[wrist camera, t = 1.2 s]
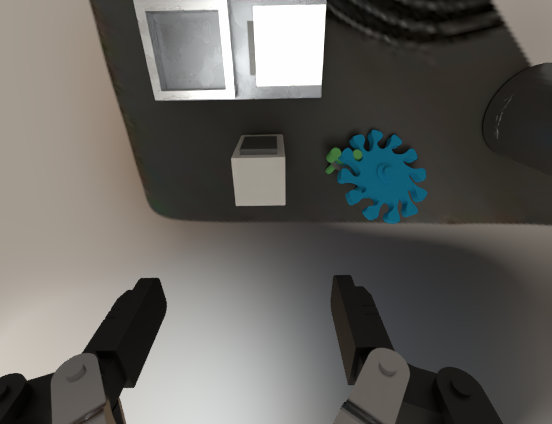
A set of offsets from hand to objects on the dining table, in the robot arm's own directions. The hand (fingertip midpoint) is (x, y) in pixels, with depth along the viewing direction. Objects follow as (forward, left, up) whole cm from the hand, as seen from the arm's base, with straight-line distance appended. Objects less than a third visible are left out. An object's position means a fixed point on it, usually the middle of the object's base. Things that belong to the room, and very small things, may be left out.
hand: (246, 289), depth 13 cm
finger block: (0, 0, -21) cm, 21 cm away
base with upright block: (+2, -10, -21) cm, 23 cm away
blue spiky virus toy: (-12, +1, -21) cm, 24 cm away
